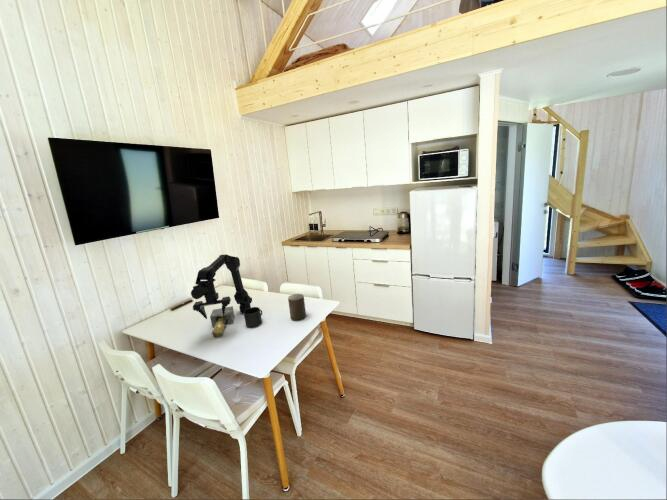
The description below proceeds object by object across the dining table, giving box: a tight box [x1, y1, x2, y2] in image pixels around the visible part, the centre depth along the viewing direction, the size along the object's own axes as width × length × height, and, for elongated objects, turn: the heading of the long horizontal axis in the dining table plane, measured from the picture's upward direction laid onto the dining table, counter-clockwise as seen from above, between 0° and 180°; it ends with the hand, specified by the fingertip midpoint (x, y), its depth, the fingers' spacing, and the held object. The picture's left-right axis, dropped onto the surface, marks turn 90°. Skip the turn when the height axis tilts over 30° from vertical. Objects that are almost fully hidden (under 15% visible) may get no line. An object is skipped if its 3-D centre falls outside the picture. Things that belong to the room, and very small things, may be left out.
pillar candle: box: [287, 293, 307, 322], centre depth 167 cm, size 10×10×15 cm
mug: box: [243, 306, 263, 329], centre depth 165 cm, size 9×12×9 cm
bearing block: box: [209, 306, 236, 329], centre depth 170 cm, size 10×12×8 cm
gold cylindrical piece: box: [211, 318, 226, 339], centre depth 158 cm, size 14×6×6 cm, turn 13°
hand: (215, 317), depth 152 cm, fingers open, 9 cm apart
